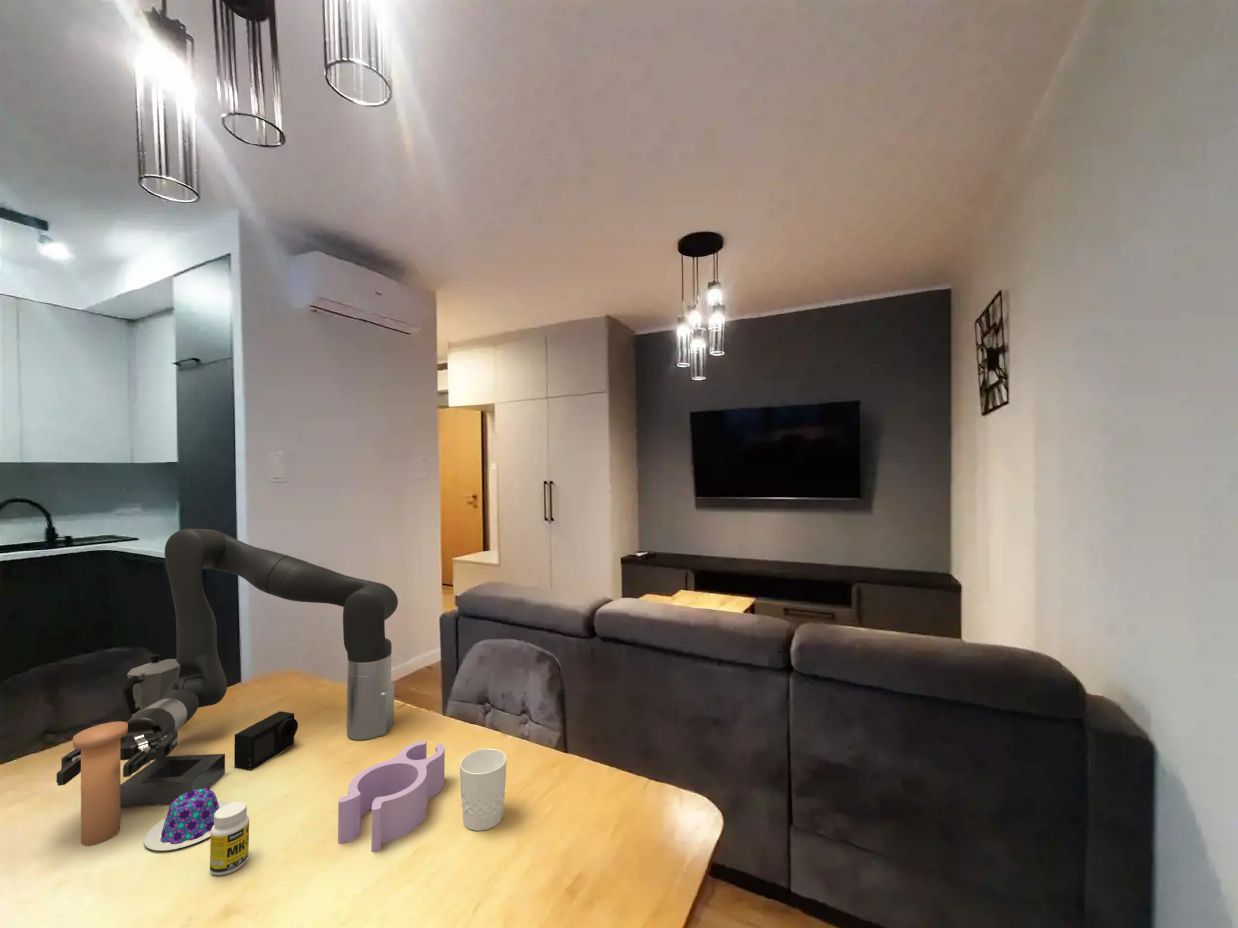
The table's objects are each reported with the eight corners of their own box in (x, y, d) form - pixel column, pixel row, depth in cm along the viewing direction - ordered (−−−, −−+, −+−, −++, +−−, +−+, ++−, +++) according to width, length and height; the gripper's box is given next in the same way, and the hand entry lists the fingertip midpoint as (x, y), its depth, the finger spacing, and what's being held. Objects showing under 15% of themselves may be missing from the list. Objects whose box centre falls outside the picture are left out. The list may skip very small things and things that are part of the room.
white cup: (514, 808, 92) (515, 752, 92) (489, 838, 85) (490, 777, 85) (477, 799, 95) (477, 744, 95) (449, 827, 87) (450, 768, 88)
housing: (224, 773, 102) (225, 753, 102) (192, 803, 93) (192, 780, 93) (159, 777, 101) (159, 756, 101) (119, 807, 92) (120, 784, 92)
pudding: (166, 813, 91) (166, 783, 91) (246, 799, 95) (246, 771, 95) (127, 862, 80) (127, 828, 80) (220, 844, 84) (220, 812, 84)
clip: (406, 771, 104) (406, 737, 104) (460, 782, 100) (461, 746, 100) (324, 841, 84) (324, 798, 84) (388, 857, 81) (388, 813, 81)
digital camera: (255, 772, 103) (255, 737, 103) (233, 768, 104) (234, 733, 104) (299, 745, 113) (299, 713, 113) (278, 741, 114) (279, 710, 114)
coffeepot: (152, 720, 123) (153, 645, 124) (196, 717, 125) (197, 643, 125) (98, 756, 108) (99, 670, 108) (149, 752, 110) (150, 668, 110)
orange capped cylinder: (138, 820, 89) (138, 720, 89) (105, 847, 82) (105, 740, 82) (97, 823, 88) (97, 722, 88) (60, 851, 82) (60, 742, 82)
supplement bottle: (227, 879, 76) (228, 821, 76) (201, 873, 77) (202, 817, 77) (256, 855, 81) (257, 801, 81) (231, 850, 82) (232, 797, 82)
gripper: (107, 711, 97) (37, 758, 81) (197, 702, 101) (147, 745, 85) (107, 751, 97) (37, 806, 81) (196, 741, 101) (146, 791, 85)
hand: (93, 775), depth 83 cm, fingers open, 8 cm apart
